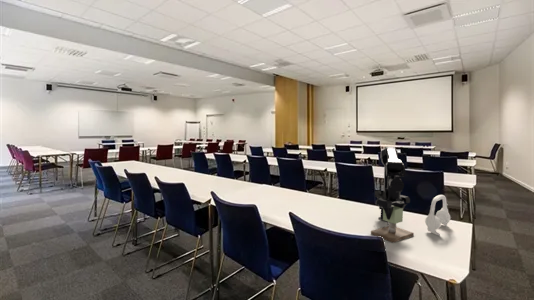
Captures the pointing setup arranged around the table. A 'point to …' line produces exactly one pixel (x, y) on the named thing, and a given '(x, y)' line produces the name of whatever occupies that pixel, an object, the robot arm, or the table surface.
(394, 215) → the sage green cube
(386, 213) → the robot arm
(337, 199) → the table surface
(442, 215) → the headset
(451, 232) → the table surface
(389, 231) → the brown rectangular block
